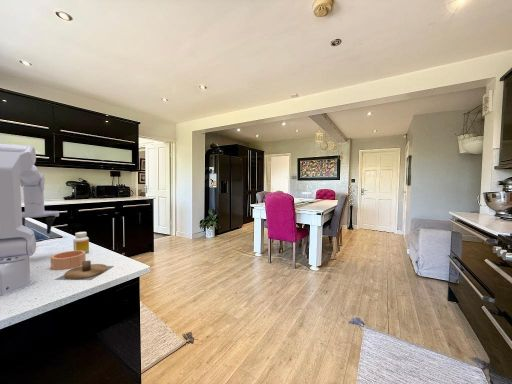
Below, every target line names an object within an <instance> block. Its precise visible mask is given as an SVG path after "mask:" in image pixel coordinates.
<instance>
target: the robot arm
mask: <svg viewBox="0 0 512 384" xmlns="http://www.w3.org/2000/svg"><path fill="white" fill-rule="evenodd" d="M36 161H37V153H36V149H35V147H34V146H33V145H25V144H22V145H21V144H11V143H0V297H1V296H2V297H6V296H7V297H8V296H9V295H12V294H14V293H16V292H18V291H21V290H22V289H26V288H27V287H29V286H31V285H33V284H36V283H38V282H39V280H38V279H37V280H31V269H30V266H31V265H30V257H31V256H33V255H34V254H35V253H36V249H37V240H36V236H35V232H34V230H33V229H31V228H29V227H27V226H26V218H27V219H28V218H31V219H32V218H43V217H44V218H45V223H46V234H47V235H50V234H51V231H52V227H53V224H54V221H55V219H56V217H58V218H59V216H60V211H59V210H45V196H44V191H45V183H46V182H45V180H46V179H45V175H44V174H42V173H41V172H40V171H39V170H38V167H37V166H36V165H35V164H36ZM21 187H22V191H23V204H24V211H23V210H22V192H21Z"/></svg>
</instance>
